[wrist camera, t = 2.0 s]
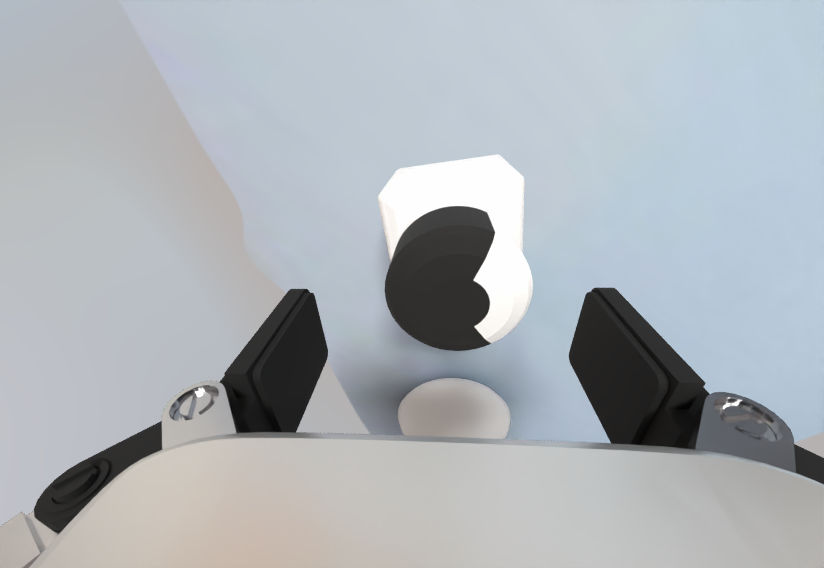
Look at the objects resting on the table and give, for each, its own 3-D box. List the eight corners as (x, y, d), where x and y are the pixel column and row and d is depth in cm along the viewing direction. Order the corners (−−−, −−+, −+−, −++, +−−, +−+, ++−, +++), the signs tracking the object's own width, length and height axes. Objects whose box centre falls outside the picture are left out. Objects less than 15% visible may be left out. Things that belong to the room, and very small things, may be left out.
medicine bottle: (410, 261, 25) (386, 373, 14) (395, 168, 21) (348, 229, 11) (502, 252, 24) (546, 367, 13) (501, 153, 20) (561, 204, 10)
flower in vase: (502, 440, 35) (595, 970, 14) (403, 436, 36) (345, 915, 15) (514, 354, 29) (727, 1110, 7) (393, 352, 30) (264, 991, 8)
